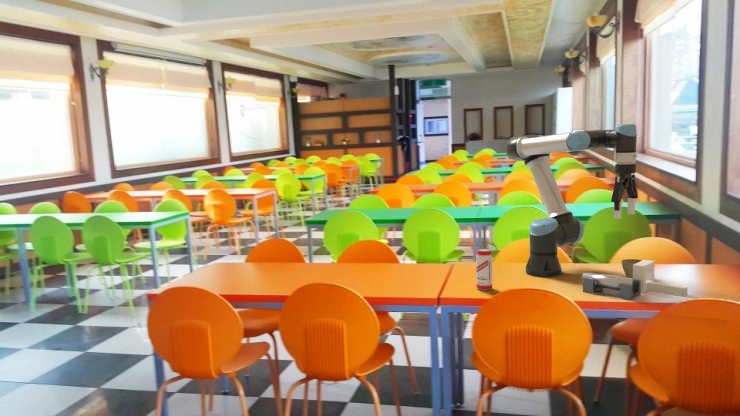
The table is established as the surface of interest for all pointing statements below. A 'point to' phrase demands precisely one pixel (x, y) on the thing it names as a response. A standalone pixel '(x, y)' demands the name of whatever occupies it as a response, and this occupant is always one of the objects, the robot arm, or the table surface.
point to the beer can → (484, 269)
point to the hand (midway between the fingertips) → (624, 216)
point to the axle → (608, 280)
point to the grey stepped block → (646, 275)
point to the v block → (624, 292)
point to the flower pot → (629, 266)
